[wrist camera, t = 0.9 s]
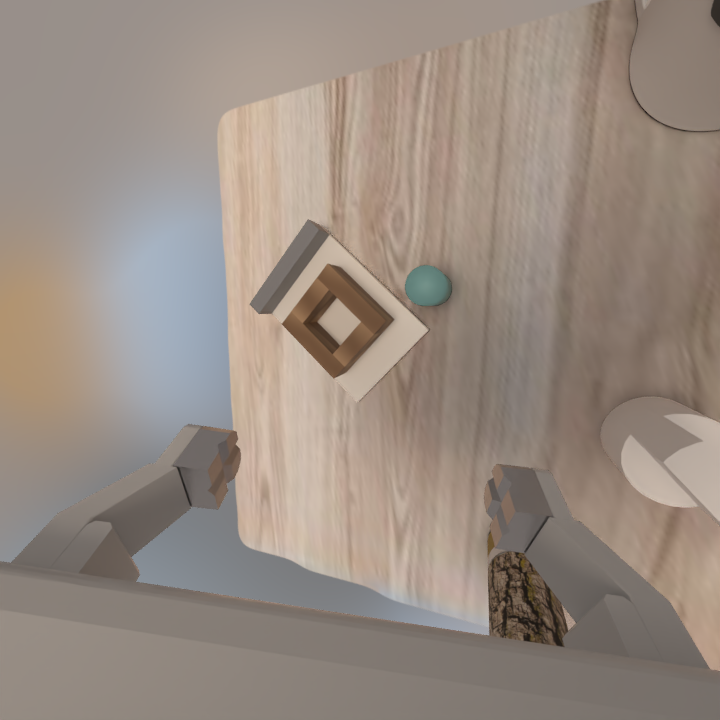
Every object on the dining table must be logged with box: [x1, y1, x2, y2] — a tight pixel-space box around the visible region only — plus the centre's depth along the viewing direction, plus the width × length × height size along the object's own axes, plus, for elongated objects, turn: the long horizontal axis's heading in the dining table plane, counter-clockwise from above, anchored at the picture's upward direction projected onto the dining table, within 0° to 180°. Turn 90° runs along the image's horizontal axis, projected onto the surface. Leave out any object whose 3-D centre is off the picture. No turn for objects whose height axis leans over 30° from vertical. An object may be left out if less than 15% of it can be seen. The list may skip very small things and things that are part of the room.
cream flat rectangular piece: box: [250, 219, 430, 403], centre depth 44 cm, size 14×20×4 cm
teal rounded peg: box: [405, 265, 452, 306], centre depth 37 cm, size 4×4×8 cm
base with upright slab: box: [601, 397, 720, 526], centre depth 30 cm, size 9×9×12 cm
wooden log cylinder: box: [488, 532, 568, 647], centre depth 31 cm, size 7×7×25 cm
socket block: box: [282, 264, 395, 378], centre depth 43 cm, size 10×10×4 cm
